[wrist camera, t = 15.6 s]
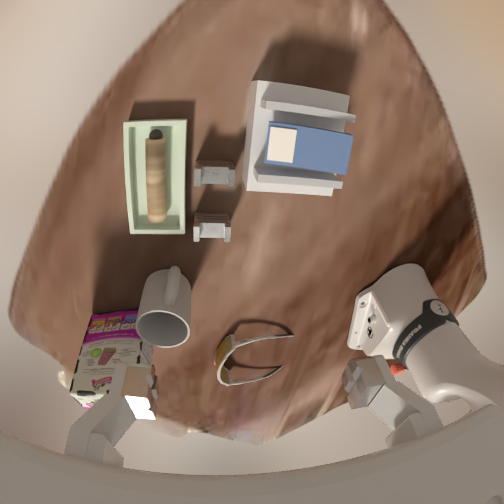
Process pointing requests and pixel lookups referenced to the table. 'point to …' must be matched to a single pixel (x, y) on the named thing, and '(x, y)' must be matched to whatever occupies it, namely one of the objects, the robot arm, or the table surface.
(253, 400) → the table surface
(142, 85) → the table surface
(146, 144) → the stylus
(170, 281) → the cup
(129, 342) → the candy bar box
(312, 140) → the blue box
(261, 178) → the grey card holder
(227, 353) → the sunglasses
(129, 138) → the tray
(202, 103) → the table surface
